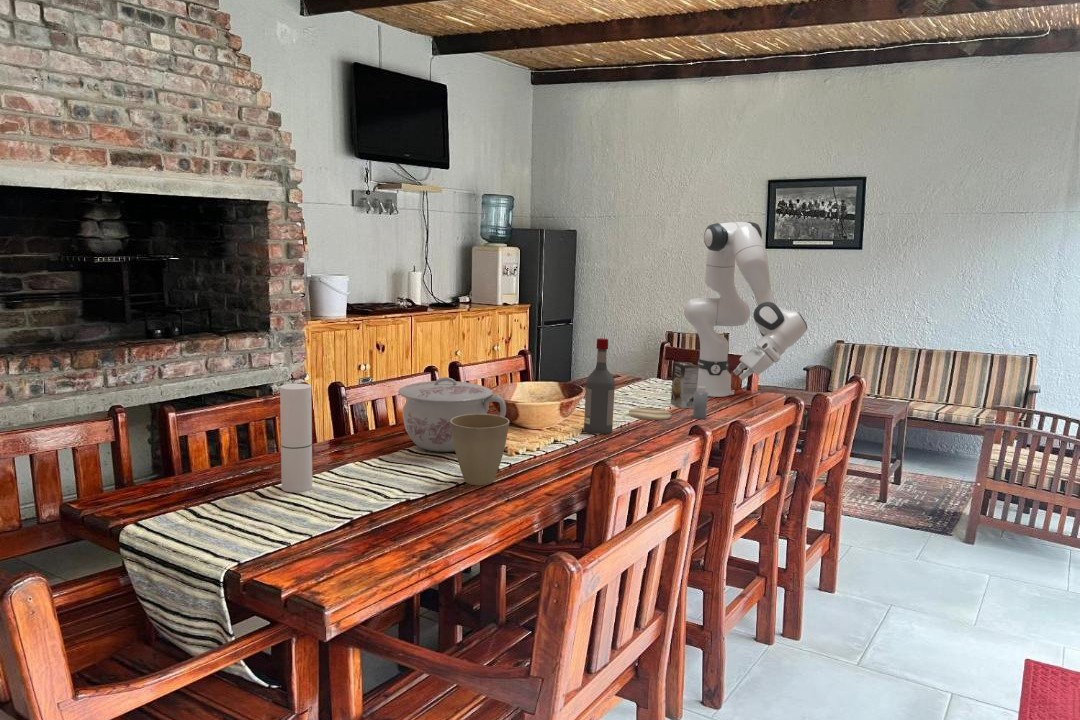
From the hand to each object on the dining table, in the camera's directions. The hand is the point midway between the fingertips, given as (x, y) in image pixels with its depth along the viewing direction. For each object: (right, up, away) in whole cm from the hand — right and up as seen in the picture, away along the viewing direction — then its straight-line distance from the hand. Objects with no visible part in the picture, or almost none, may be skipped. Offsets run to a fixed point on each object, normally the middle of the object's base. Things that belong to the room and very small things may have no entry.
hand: (737, 375), depth 282 cm
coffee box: (-15, -12, +22) cm, 29 cm away
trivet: (-30, -14, +3) cm, 34 cm away
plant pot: (-85, -25, -77) cm, 118 cm away
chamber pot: (-97, -20, -47) cm, 110 cm away
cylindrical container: (-128, -25, -87) cm, 157 cm away
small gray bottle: (-13, -15, +3) cm, 20 cm away
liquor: (-51, -17, -21) cm, 57 cm away
